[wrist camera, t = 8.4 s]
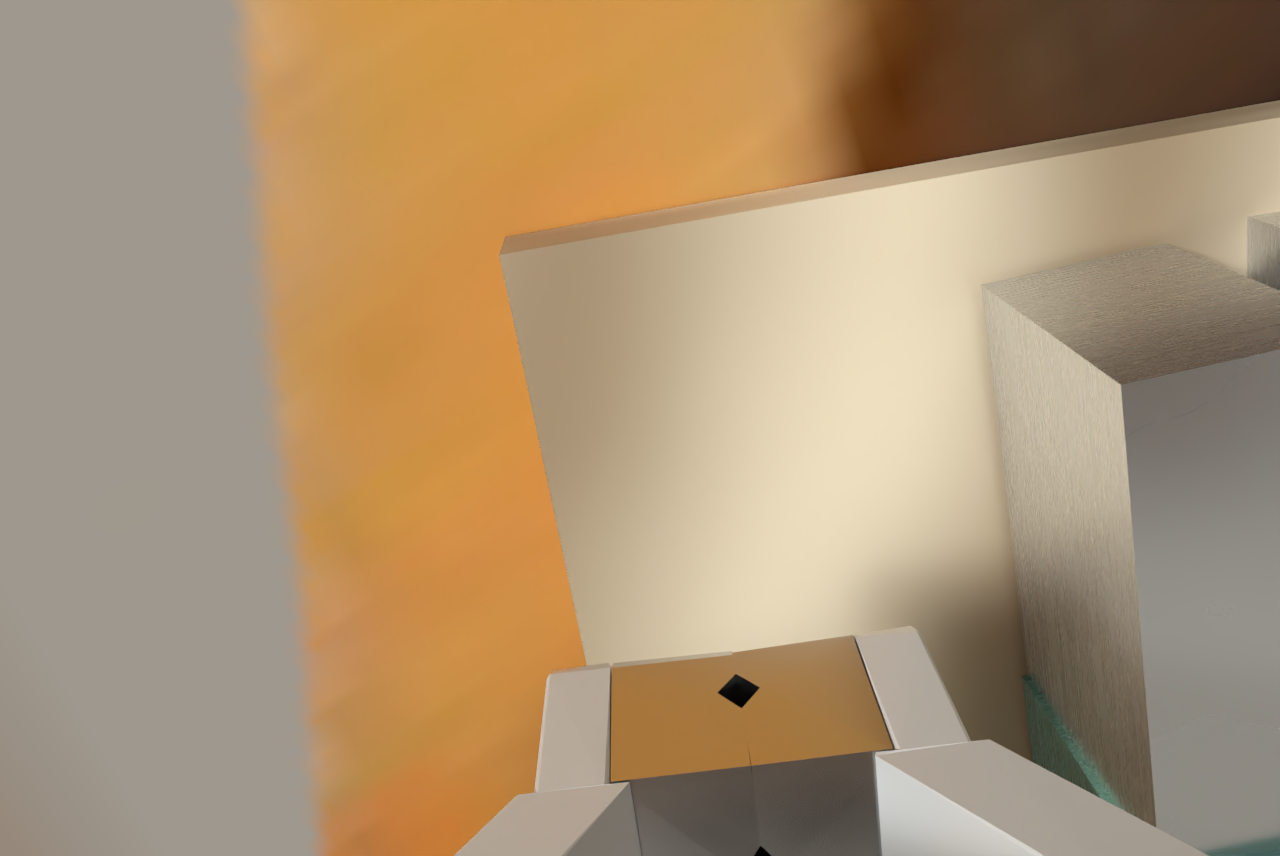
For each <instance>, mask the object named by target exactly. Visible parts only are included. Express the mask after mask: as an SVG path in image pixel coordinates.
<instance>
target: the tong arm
mask: <svg viewBox="0 0 1280 856" xmlns="http://www.w3.org/2000/svg"><path fill="white" fill-rule="evenodd" d="M981 289H982V297H983V306H984V314H985V322H986V330H987V339H988V347H989V355H990V363H991V372H992V380H993V388H994V396H995V405H996V413H997V421H998V429H999V438H1000V446H1001V454H1002V462H1003V471H1004V479H1005V487H1006V495H1007V504H1008V512H1009V520H1010V528H1011V537H1012V545H1013V553H1014V561H1015V570H1016V578H1017V586H1018V594H1019V603H1020V611H1021V619H1022V627H1023V636H1024V644H1025V652H1026V660H1027V669H1028V675H1024V676H1022V682H1023V690H1024V698H1025V706H1026V714H1027V722H1028V730H1029V738H1030V746H1031V755H1032V762H1033V763H1035V764H1037V765H1039V766H1041V767H1043V768H1045V769H1046V770H1048V771H1050V772H1052V773H1054V774H1056V775H1058V776H1060V777H1061V778H1063V779H1065V780H1067V781H1069V782H1071V783H1073V784H1075V785H1077V786H1078V787H1080V788H1082V789H1084V790H1086V791H1088V792H1090V793H1092V794H1094V795H1095V796H1097V797H1099V798H1101V799H1103V800H1105V801H1107V802H1109V803H1111V804H1112V805H1114V806H1116V807H1118V808H1120V809H1122V810H1124V811H1126V812H1127V813H1129V814H1131V815H1133V816H1135V817H1137V818H1139V819H1141V820H1143V821H1144V822H1146V823H1148V824H1150V825H1152V826H1154V827H1156V828H1158V829H1160V830H1161V831H1163V832H1165V833H1167V834H1169V835H1171V836H1173V837H1175V838H1176V839H1178V840H1180V841H1182V842H1184V843H1186V844H1188V845H1190V846H1192V847H1193V848H1195V849H1197V850H1199V851H1201V852H1203V853H1205V854H1207V855H1209V856H1280V291H1279V290H1277V289H1274V288H1272V287H1270V286H1267V285H1265V284H1262V283H1260V282H1258V281H1255V280H1253V279H1250V278H1248V277H1246V276H1243V275H1241V274H1238V273H1236V272H1234V271H1231V270H1229V269H1226V268H1224V267H1222V266H1219V265H1217V264H1214V263H1212V262H1210V261H1207V260H1205V259H1202V258H1200V257H1198V256H1195V255H1193V254H1190V253H1188V252H1186V251H1183V250H1181V249H1178V248H1176V247H1174V246H1171V245H1169V244H1166V243H1163V244H1158V245H1154V246H1149V247H1145V248H1140V249H1136V250H1132V251H1127V252H1123V253H1118V254H1114V255H1109V256H1105V257H1101V258H1096V259H1092V260H1087V261H1083V262H1078V263H1074V264H1070V265H1065V266H1061V267H1056V268H1052V269H1047V270H1043V271H1039V272H1034V273H1030V274H1025V275H1021V276H1016V277H1012V278H1008V279H1003V280H999V281H994V282H990V283H985V284H981Z"/></svg>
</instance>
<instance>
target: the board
mask: <svg viewBox="0 0 1280 856" xmlns="http://www.w3.org/2000/svg"><path fill="white" fill-rule="evenodd" d="M1278 211H1280V100H1279V101H1273V102H1268V103H1262V104H1256V105H1251V106H1245V107H1239V108H1234V109H1228V110H1223V111H1217V112H1211V113H1206V114H1200V115H1194V116H1189V117H1183V118H1177V119H1172V120H1166V121H1160V122H1155V123H1149V124H1143V125H1138V126H1132V127H1126V128H1121V129H1115V130H1109V131H1104V132H1098V133H1092V134H1087V135H1081V136H1075V137H1070V138H1064V139H1058V140H1053V141H1047V142H1041V143H1036V144H1030V145H1024V146H1019V147H1013V148H1007V149H1002V150H996V151H990V152H985V153H979V154H973V155H968V156H962V157H956V158H951V159H945V160H939V161H934V162H928V163H923V164H917V165H911V166H906V167H900V168H894V169H889V170H883V171H877V172H872V173H866V174H860V175H855V176H849V177H843V178H838V179H832V180H826V181H821V182H815V183H809V184H804V185H798V186H792V187H787V188H781V189H775V190H770V191H764V192H758V193H753V194H747V195H741V196H736V197H730V198H724V199H719V200H713V201H707V202H702V203H696V204H690V205H685V206H679V207H673V208H668V209H662V210H656V211H651V212H645V213H639V214H634V215H628V216H623V217H617V218H611V219H606V220H600V221H594V222H589V223H583V224H577V225H572V226H566V227H560V228H555V229H549V230H543V231H538V232H532V233H526V234H521V235H515V236H509V237H505V240H504V243H503V246H502V249H501V251H500V254H499V256H500V261H501V266H502V270H503V275H504V280H505V284H506V289H507V294H508V298H509V303H510V308H511V312H512V317H513V322H514V326H515V331H516V336H517V340H518V345H519V350H520V355H521V359H522V364H523V369H524V373H525V378H526V383H527V387H528V392H529V397H530V401H531V406H532V411H533V415H534V420H535V425H536V429H537V434H538V439H539V443H540V448H541V453H542V458H543V462H544V467H545V472H546V476H547V481H548V486H549V490H550V495H551V500H552V504H553V509H554V514H555V518H556V523H557V528H558V532H559V537H560V542H561V546H562V551H563V556H564V561H565V565H566V570H567V575H568V579H569V584H570V589H571V593H572V598H573V603H574V607H575V612H576V617H577V621H578V626H579V631H580V635H581V640H582V645H583V649H584V654H585V659H586V664H587V666H589V665H596V664H603V663H609V664H610V665H611V666H613V663H619V662H629V661H639V660H649V659H659V658H669V657H679V656H688V655H698V654H708V653H718V652H728V651H732V653H733V652H740V651H747V650H754V649H761V648H767V647H774V646H781V645H788V644H795V643H802V642H808V641H815V640H822V639H829V638H836V637H843V636H849V635H856V634H862V633H869V632H875V631H881V630H887V629H893V628H899V627H906V626H912V627H914V628H916V629H917V630H919V632H920V634H921V637H922V639H923V641H924V643H925V645H926V647H927V649H928V651H929V653H930V656H931V658H932V660H933V662H934V664H935V666H936V668H937V670H938V672H939V674H940V677H941V679H942V681H943V683H944V685H945V687H946V689H947V691H948V693H949V696H950V698H951V700H952V702H953V704H954V706H955V708H956V710H957V712H958V714H959V717H960V719H961V721H962V723H963V725H964V727H965V729H966V731H967V733H968V736H969V738H970V740H971V741H979V740H988V739H990V740H992V741H994V742H996V743H997V744H999V745H1001V746H1003V747H1005V748H1007V749H1009V750H1011V751H1012V752H1014V753H1016V754H1018V755H1020V756H1022V757H1024V758H1026V759H1028V760H1029V761H1031V762H1032V755H1031V746H1030V738H1029V730H1028V722H1027V714H1026V706H1025V698H1024V690H1023V682H1022V676H1024V675H1028V669H1027V660H1026V652H1025V644H1024V636H1023V627H1022V619H1021V611H1020V603H1019V594H1018V586H1017V578H1016V570H1015V561H1014V553H1013V545H1012V537H1011V528H1010V520H1009V512H1008V504H1007V495H1006V487H1005V479H1004V471H1003V462H1002V454H1001V446H1000V438H999V429H998V421H997V413H996V405H995V396H994V388H993V380H992V372H991V363H990V355H989V347H988V339H987V330H986V322H985V314H984V306H983V297H982V289H981V284H985V283H990V282H994V281H999V280H1003V279H1008V278H1012V277H1016V276H1021V275H1025V274H1030V273H1034V272H1039V271H1043V270H1047V269H1052V268H1056V267H1061V266H1065V265H1070V264H1074V263H1078V262H1083V261H1087V260H1092V259H1096V258H1101V257H1105V256H1109V255H1114V254H1118V253H1123V252H1127V251H1132V250H1136V249H1140V248H1145V247H1149V246H1154V245H1158V244H1163V243H1166V244H1169V245H1171V246H1174V247H1176V248H1178V249H1181V250H1183V251H1186V252H1188V253H1190V254H1193V255H1195V256H1198V257H1200V258H1202V259H1205V260H1207V261H1210V262H1212V263H1214V264H1217V265H1219V266H1222V267H1224V268H1226V269H1229V270H1231V271H1234V272H1236V273H1238V274H1241V275H1243V276H1246V277H1247V217H1249V216H1255V215H1261V214H1266V213H1272V212H1278Z"/></svg>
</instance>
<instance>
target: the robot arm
mask: <svg viewBox="0 0 1280 856" xmlns="http://www.w3.org/2000/svg"><path fill="white" fill-rule="evenodd" d="M454 856H1209V855H1207V854H1205V853H1203V852H1201V851H1199V850H1197V849H1195V848H1193V847H1192V846H1190V845H1188V844H1186V843H1184V842H1182V841H1180V840H1178V839H1176V838H1175V837H1173V836H1171V835H1169V834H1167V833H1165V832H1163V831H1161V830H1160V829H1158V828H1156V827H1154V826H1152V825H1150V824H1148V823H1146V822H1144V821H1143V820H1141V819H1139V818H1137V817H1135V816H1133V815H1131V814H1129V813H1127V812H1126V811H1124V810H1122V809H1120V808H1118V807H1116V806H1114V805H1112V804H1111V803H1109V802H1107V801H1105V800H1103V799H1101V798H1099V797H1097V796H1095V795H1094V794H1092V793H1090V792H1088V791H1086V790H1084V789H1082V788H1080V787H1078V786H1077V785H1075V784H1073V783H1071V782H1069V781H1067V780H1065V779H1063V778H1061V777H1060V776H1058V775H1056V774H1054V773H1052V772H1050V771H1048V770H1046V769H1045V768H1043V767H1041V766H1039V765H1037V764H1035V763H1033V762H1031V761H1029V760H1028V759H1026V758H1024V757H1022V756H1020V755H1018V754H1016V753H1014V752H1012V751H1011V750H1009V749H1007V748H1005V747H1003V746H1001V745H999V744H997V743H996V742H994V741H992V740H990V739H988V740H979V741H971V740H970V738H969V736H968V733H967V731H966V729H965V727H964V725H963V723H962V721H961V719H960V717H959V714H958V712H957V710H956V708H955V706H954V704H953V702H952V700H951V698H950V696H949V693H948V691H947V689H946V687H945V685H944V683H943V681H942V679H941V677H940V674H939V672H938V670H937V668H936V666H935V664H934V662H933V660H932V658H931V656H930V653H929V651H928V649H927V647H926V645H925V643H924V641H923V639H922V637H921V634H920V632H919V630H917V629H916V628H914V627H912V626H906V627H899V628H893V629H887V630H881V631H875V632H869V633H862V634H856V635H849V636H843V637H836V638H829V639H822V640H815V641H808V642H802V643H795V644H788V645H781V646H774V647H767V648H761V649H754V650H747V651H740V652H733V653H732V651H728V652H718V653H708V654H698V655H688V656H679V657H669V658H659V659H649V660H639V661H629V662H619V663H613V666H611V665H610V664H609V663H603V664H596V665H589V666H581V667H574V668H567V669H559V670H553V671H552V672H551V673H550V675H549V676H548V678H547V682H546V691H545V701H544V710H543V719H542V728H541V737H540V746H539V755H538V765H537V774H536V783H535V792H534V793H529V794H521V795H517V796H515V797H514V798H513V799H512V800H511V801H510V802H509V803H508V804H507V805H506V806H505V807H504V808H503V809H502V810H501V811H500V812H499V813H498V814H497V815H496V816H494V817H493V818H492V819H491V820H490V821H489V822H488V823H487V824H486V825H485V826H484V827H483V828H482V829H481V830H480V831H479V832H478V833H477V834H476V835H475V836H474V837H473V838H472V839H471V840H470V841H468V842H467V843H466V844H465V845H464V846H463V847H462V848H461V849H460V850H459V851H458V852H457V853H456V854H455V855H454Z"/></svg>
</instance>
